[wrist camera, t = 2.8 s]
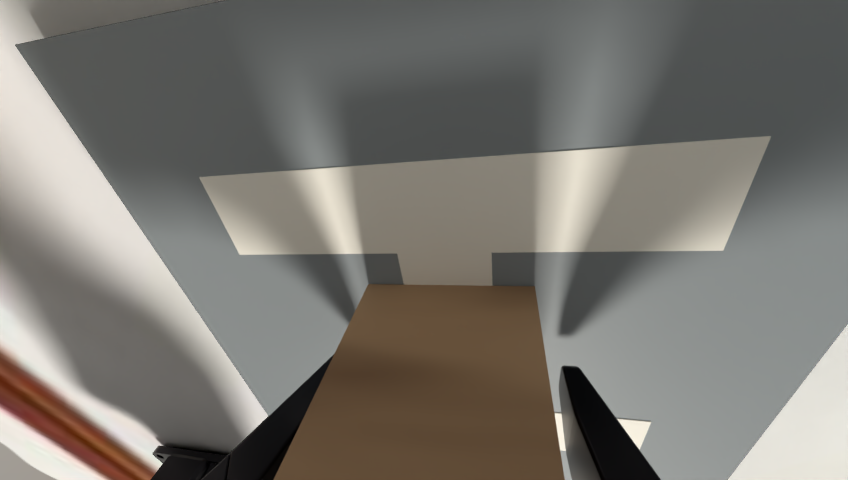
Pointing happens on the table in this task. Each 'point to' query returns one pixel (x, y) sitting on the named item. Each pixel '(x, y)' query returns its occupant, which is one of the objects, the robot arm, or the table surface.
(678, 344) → the letter board
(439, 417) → the walnut block
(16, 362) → the table surface
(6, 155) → the table surface
